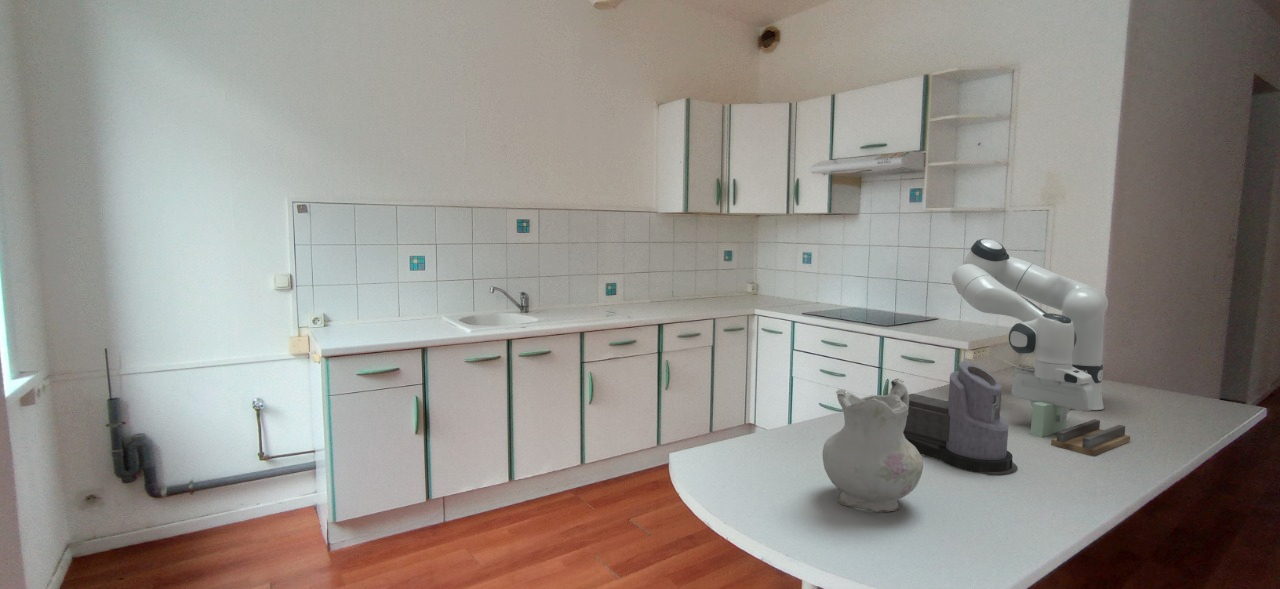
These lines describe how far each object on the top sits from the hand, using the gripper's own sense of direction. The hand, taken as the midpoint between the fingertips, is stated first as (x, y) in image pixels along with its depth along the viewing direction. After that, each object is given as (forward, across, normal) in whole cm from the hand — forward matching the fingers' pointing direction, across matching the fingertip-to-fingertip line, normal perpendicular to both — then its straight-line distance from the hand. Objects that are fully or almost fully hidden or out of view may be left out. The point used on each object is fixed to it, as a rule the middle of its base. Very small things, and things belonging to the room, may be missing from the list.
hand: (1049, 419), depth 179 cm
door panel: (+4, 0, 0) cm, 4 cm away
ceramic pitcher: (+4, +3, -83) cm, 83 cm away
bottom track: (+4, +11, -1) cm, 12 cm away
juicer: (+4, -4, -43) cm, 43 cm away
